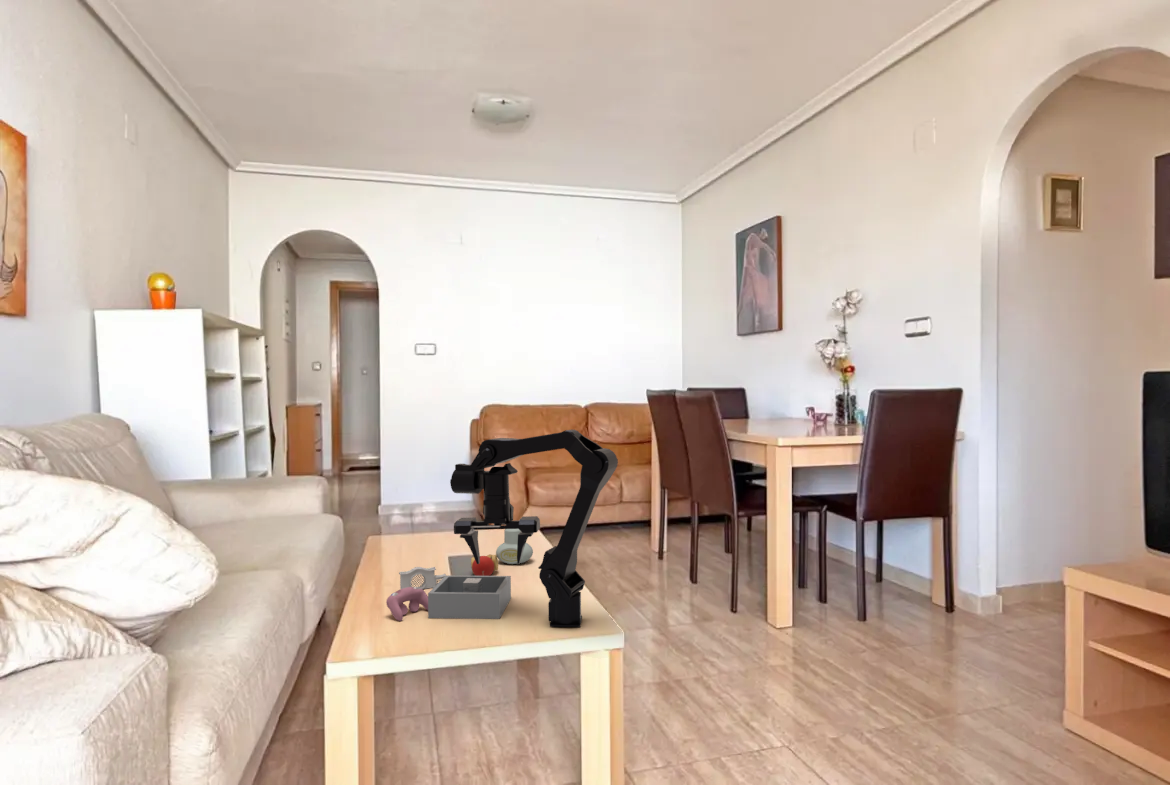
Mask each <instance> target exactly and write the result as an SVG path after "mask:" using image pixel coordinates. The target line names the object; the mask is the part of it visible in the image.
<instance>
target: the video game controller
mask: <svg viewBox="0 0 1170 785" xmlns="http://www.w3.org/2000/svg"><path fill="white" fill-rule="evenodd" d="M406 602H409V603H408V606H407V605H406ZM385 603H386V606H387V608H388V609H389V610H390V613H391V614H392V616H393V617H394V619H395V620H396V621H398V622H402V621H403V619H404V616H405V615H406V614H407V613H408V612H409V611H410V612H411V613H415V612H417V611H418V610H419V609H420V605H421V606H422V607H423V608H424V609H425V610H426V611H428V593H426V591H425V589H421V588H420V587H419V586H417V587H416V586H415V587H413V586H412V587H407V588H403V589H399V590H395V592H393V593H391V594H390V595H389V596H388V597H387V599H386V602H385Z"/></svg>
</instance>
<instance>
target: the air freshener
mask: <svg viewBox="0 0 1170 785" xmlns="http://www.w3.org/2000/svg"><path fill="white" fill-rule="evenodd" d="M503 530H504V533H503V534H504V539H503V540H504V542H503V543H501V544H499V545H498V547H497V548H496V550H495V555H496V556H497V559H498V561H500V562H502V563H503V564H506V563H507V564H506V565H509V564H517V565H520V563H521V564H524V563H526V562H527V561H529V560H530V559H531V558H532V556H533V553H534V549H533V547H532V546H531V545H530V544H529V543H528V542H526V543H525V546H524V550H523V553H522V557H521V560H520V563H519V564H518V563H517V544H518V534H519V533H520V532H521V531H520V530H519V529H503Z"/></svg>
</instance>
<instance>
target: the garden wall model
mask: <svg viewBox="0 0 1170 785" xmlns="http://www.w3.org/2000/svg"><path fill="white" fill-rule="evenodd" d="M435 571H437V569H436V566H431V567H429V568H426V567H422V566H415V567H413V568H411V569H409V570H407V571H399V572H398V574H399V578H400V581H399V586H400V587H399V588H400V589H403V588H407V587H420V588H421V589H423V590H425V589H426V590H427V589H433V588H434V587H435V586H436V585H437V584H438V583H439V582H440V581H441V580H442V579H443V578H444V577H445V576H447V575H446V573H443V574H436V573H435ZM435 574H436V575H435ZM400 589H399V590H400Z"/></svg>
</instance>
